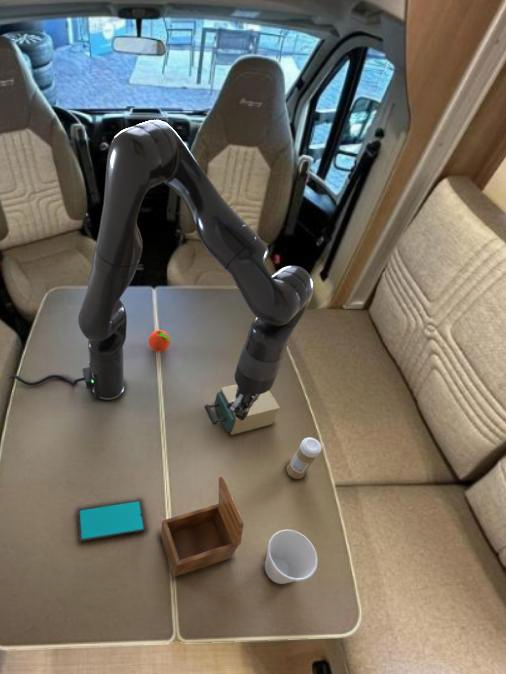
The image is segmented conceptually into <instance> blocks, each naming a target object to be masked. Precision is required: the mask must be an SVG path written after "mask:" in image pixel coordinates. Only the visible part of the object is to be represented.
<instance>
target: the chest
mask: <svg viewBox="0 0 506 674" xmlns="http://www.w3.org/2000/svg"><path fill="white" fill-rule="evenodd" d="M159 534H160V539H161V540H162V544H163V548H164V550H165V554H166V557H167V561H168V563H169V567H170V569H171V573H172V575H173V578H176V577H178V576H182V575H184V574H185V575H186V574H189V573H191V572H194V571H196V570H199V569H203V568H205V567H208V566H211V565H214V564H215V565H216V564H218V563H221V562H225V561H227V560H229V559H231V558H232V557H233V555H234V553H235V552H236V550H237V548H239V545H237V544H236V542H235V540H234V537H233V535H232V533H231V530H230V528H229V526H228V523H227V521H226V519H225V517H224V514H223V512H222V510H221V507H220V505H219V503H216V504H213V505H209V506H207V507H203V508H199V509H196V510H193V511H189V512H186V513H182V514H180V515H176V516H173V517H169V518H166V519H164V520H162V521H161V528H160V533H159Z"/></svg>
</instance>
